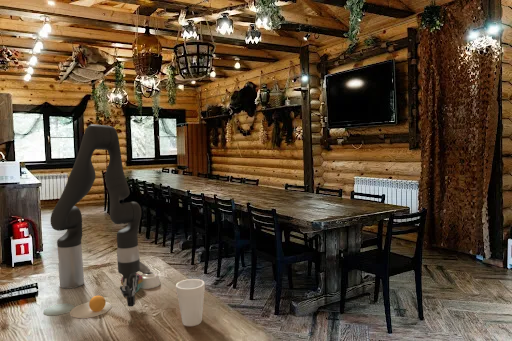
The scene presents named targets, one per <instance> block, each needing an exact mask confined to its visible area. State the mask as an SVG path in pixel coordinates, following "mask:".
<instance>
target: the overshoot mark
mask: <svg viewBox="0 0 512 341" xmlns="http://www.w3.org/2000/svg"><path fill="white" fill-rule="evenodd" d="M74 307H75V305H73V304H72V303H66V302H65V303H57V304H54V305H51V306H49V307H46V308H45V309H44V310H43V315H45V316H50V317H51V316H60V315H65V314H67V313H70V311H71V310H72V309H73V308H74Z"/></svg>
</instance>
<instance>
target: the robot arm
mask: <svg viewBox="0 0 512 341" xmlns="http://www.w3.org/2000/svg"><path fill="white" fill-rule="evenodd" d="M97 150H100V151H101V150H103V151H107V153H108V156H109V161H108V165H107V167H106V171H105V175H104V181H105V185H106V189H107V192H108V194H109V196H108V197H109V218H110V220H111V222H113V224H114V225H115V224H116V225H122V224H126V223H128V224H127V225H126V226H125V227H124V228H121V229H119V230H118V231H117V233H116V246H117V251H116V256H117V257H116V259H117V272H118V273H119V274H120V275H122V277H123V279H122V278H121V279H122V282H123V285H120V286H119V290H120V291H121V293H122V296H123V297H124V298H125V297H126V304H127V307H134V306H135V305H136V300H135V299H136V298H135V295H136V292H135V291H137V286H138V280H139V275H140V274H139V275H136V273H139V272H140V271H139V270H140V262H141V260H140V250H139V249H140V248H139V242H138V241H139V240H138V233H139V226H140V222H141V218H142V208H141V205H140V203H138V202H137V201H127V202H121V203H120V201H122V200H124V199H127V198H128V197H129V195H130V194H131V193H130V192H131V191H130V188H129V185H128V182H127V179H126V175H125V171H124V169H123V168H124V166H123V161H122V154H121V153H122V152H121V146H120V139H119V135H118V132H117V130H116V128H114V127H113V126H110V125H104V124H102V125H101V124H89V125H88V126H87V127H86V128H85V130H84V133H83V136H82V139H81V143H80V146H79V150H78V153H77V157H76V158H75V162H74V164H73V167H72V168H71V169H72V170H71V171H70V173H69V176H68V178H67V182H66V184H65V186H64V189H63V191H62V194H61V195H60V197H59V198H58V201H57V203H56V204H55V206H54V208H53V210H52V212H51V214H50V225H51V228H52V229H53V230H55V231H57V232H58V231H59V232H60V231H61V232H62V231H66V232H65V233H64V234H63V235H61V236H60V237H59V238H58V239H57V242H56V246H57V257H58V258H57V259H58V264H57V265H58V278H59V279H58V280H59V285H60V288H62V289H74V288H79V287H81V286H82V285H85V276H84V275H85V274H84V273H85V272H84V262H83V261H84V259H83V248H82V238H83V217H82V212H81V210H80V208H79V207H78V206H76V205H77V204H78V203H80V201H81V200H82V199H83V198H85V197H86V196H87V195H88V194H89V192H90V191H91V190H92V188H93V186H94V183H95V180H96V176H97V175H96V171H95V167H94V165H93V162H92V157H93V154H94V152H95V151H97Z"/></svg>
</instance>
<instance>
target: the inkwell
mask: <svg viewBox="0 0 512 341" xmlns="http://www.w3.org/2000/svg"><path fill="white" fill-rule="evenodd" d="M138 272H140V273H142V274H140V275H141V276H142V278H143V282H141V284H140V287H139V289H145V290H147V289H149V290H150V289H153V288H154V289H155V288H156V287H159V286H160V285H161V279H160V278H159V275H158V273H157V272H155V271H152V270H151V269H150V268H149V266H147V265H146V264H145V263H143V262H142V261H140V270H139V271H138Z"/></svg>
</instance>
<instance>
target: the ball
mask: <svg viewBox="0 0 512 341" xmlns="http://www.w3.org/2000/svg"><path fill="white" fill-rule="evenodd" d="M88 302H89V307H90V309H91V310H93V311H95V312H98V311H101V310H102V309H103V308H104V307H105V304H106V302H107V301H106V298H104V296H102V295H95V296H93V297H91V299H90V300H89V301H88Z"/></svg>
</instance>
